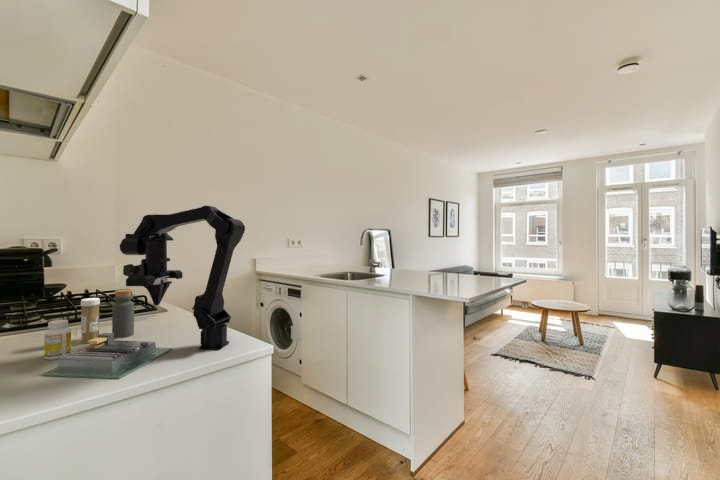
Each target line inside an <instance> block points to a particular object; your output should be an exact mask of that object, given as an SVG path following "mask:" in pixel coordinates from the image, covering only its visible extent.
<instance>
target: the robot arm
mask: <svg viewBox="0 0 720 480" xmlns="http://www.w3.org/2000/svg"><path fill="white" fill-rule="evenodd" d="M204 221H206V223H207V224H208V225H209V227H211V228H212V229H213V230H215V232H214V239H215V242H216V249H215V253H214V257H213V261H212V265H211V268H210V271H209V275H208V278H207V282H206V283H207V284H206V286H205V290H204V292H203V293H202V294H199V295H196V296H195V298H194V303H193V306H192V308H191V309H192V310H193V313H192V315H193V317H194V319H195V320H196V324H197V327H198V330H201V331H200V346H198V349H199V350H221V349H222V348H224V347H225V346H226V345H228V344H230V341H229V340H228V338H227V337H228V323H230V321H231V318H232V316H231V315H230V313H228V311H227V310H226V309H225V308H224V307H225V306H224V305H225V299H224V295H223V290H224V287H225V284H226V280H227V276H228V273H229V269H230V265H231V261H232V258H233V254H234V250H235V248H236V247H237V246H238V245H239V243H240V242H241V240H242V238H243V236H244V233H245V231H246V226H245V224H244V223H243V222H242V221H241V220H240V219H235V218H233V217H232V216H230V215H229V214H226V213H225V212H223V211H221V210H220V209H218V208H217V207H216V206H211V205H203V206H200V207H196V208H192V209H188V210H184V211H183V210H182V211H179V212H174V213H169V214H167V213H166V214H159V213H158V214H145V215H144V216H142V219H141V222H140V223H139V225H138V226H137V227H136V229H135V230H134V232H133V233H126V234H125V237H124V238H122V240H121V242H120V244H119V250H120V252H121V254H122V255H126V256H145V258H142V259H141V260H140V264H138V265H137V264H136V265H134V264H133V263H129V264H125V265H123V268H122V272H123V276H126V278H125V287H143V288H145V289H146V290H147V291H148V293H149V297H150V298H151V301H152V303H153V305H154V306H160V304H161V302H162V300H163V298H164V297H165V294H166V292H167V291H168V288H170V285H171V284H173V280H172V281H169V279H176V280H180V279H183V272H182V271H181V269H168V262H171V258H170V257H168V250H167V245H168V242H169V241H172V242H173V241H174V238H173V237H172V236H171V235H169V234H168V233H169V232H172V231H174V230H175V229H176V228H178V227H181V226H186V225H190V224H196V223H200V222H204Z"/></svg>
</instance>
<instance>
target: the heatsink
mask: <svg viewBox="0 0 720 480" xmlns="http://www.w3.org/2000/svg"><path fill="white" fill-rule="evenodd" d="M111 345H132V346H142V345H143V346H144V348H143V349H141V350H139V351H137V352H135V348H128V349H127V352H110V351H87V350H86V348H84V349H83V350H81V351H71V353H67V354H66V355H62V356H60V358H59V359H57V367H54V368H52V369H50V370H47V371H44V372H43V376H50V377H71V378H72V377H75V378H93V379H95V378H96V379H115V380H116V379H117V380H119V379H122V378H124V377H126V376H127V375H129V374H131V373H133V372H135V371H136V370H138V369H140V368H142V367H144V366H145V365H147V364H149V363H151V362H152V361H155V360H157V359H158V358H160V357H162V356H164V355H166V354H167V353H169V352H171V351H172V350H173V348H172V347H158V346H156V341H148V340H144V341H143V340H141V341H140V340H118V339H116V340H115V339H114V343H113V344H111Z"/></svg>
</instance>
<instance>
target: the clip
mask: <svg viewBox="0 0 720 480" xmlns="http://www.w3.org/2000/svg"><path fill="white" fill-rule="evenodd" d="M114 340H115V338H114V333H112V332H103V333H99V335H98V337H97V338H94V339H92V340H89V341H88V343H87V344H89V345H91V344H98V343H105V344H109V345H111V344H113V343H114Z"/></svg>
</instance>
